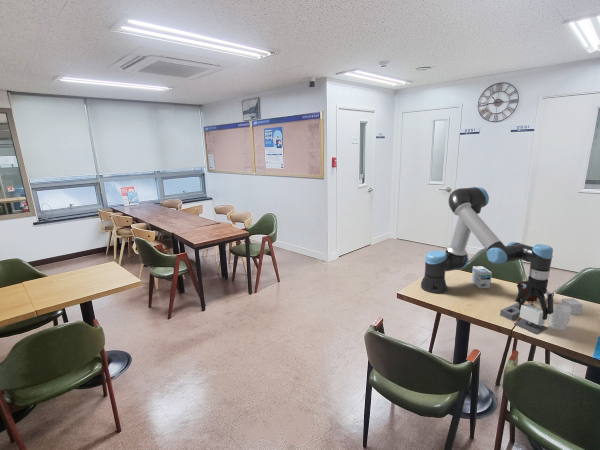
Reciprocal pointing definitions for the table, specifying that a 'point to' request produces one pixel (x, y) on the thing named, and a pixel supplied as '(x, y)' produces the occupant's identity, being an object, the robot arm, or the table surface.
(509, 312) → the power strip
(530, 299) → the muffin
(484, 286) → the light bulb box
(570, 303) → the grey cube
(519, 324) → the mat
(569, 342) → the table surface
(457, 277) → the table surface
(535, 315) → the block
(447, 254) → the robot arm
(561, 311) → the white cup
